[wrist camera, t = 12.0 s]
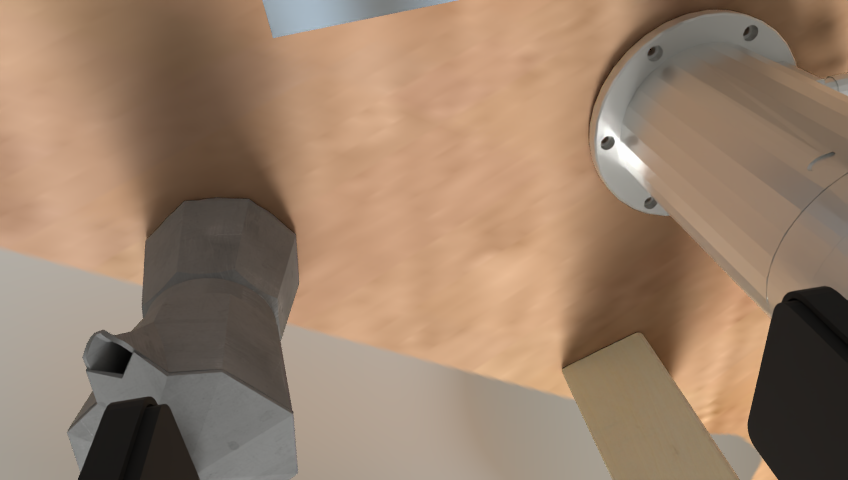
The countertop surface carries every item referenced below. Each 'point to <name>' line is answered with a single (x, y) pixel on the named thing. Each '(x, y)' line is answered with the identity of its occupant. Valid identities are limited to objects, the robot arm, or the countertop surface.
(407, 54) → the countertop surface
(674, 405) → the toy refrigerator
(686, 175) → the robot arm
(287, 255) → the coffeepot
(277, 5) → the silver block
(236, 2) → the countertop surface
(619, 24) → the countertop surface
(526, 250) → the countertop surface
